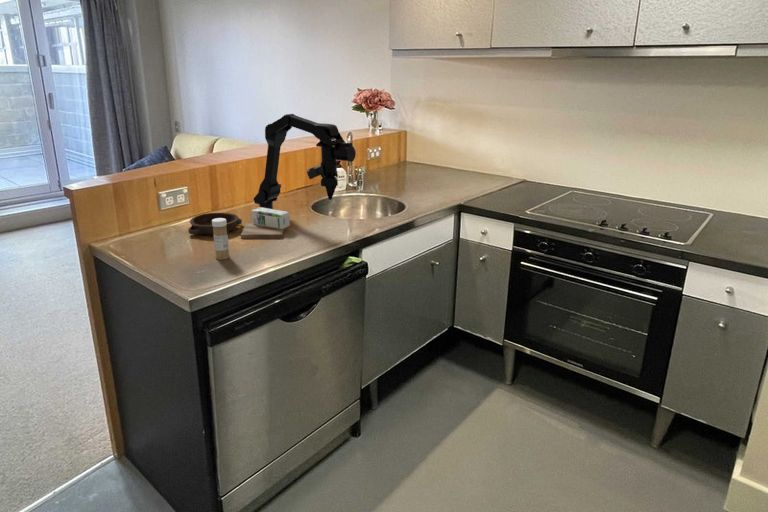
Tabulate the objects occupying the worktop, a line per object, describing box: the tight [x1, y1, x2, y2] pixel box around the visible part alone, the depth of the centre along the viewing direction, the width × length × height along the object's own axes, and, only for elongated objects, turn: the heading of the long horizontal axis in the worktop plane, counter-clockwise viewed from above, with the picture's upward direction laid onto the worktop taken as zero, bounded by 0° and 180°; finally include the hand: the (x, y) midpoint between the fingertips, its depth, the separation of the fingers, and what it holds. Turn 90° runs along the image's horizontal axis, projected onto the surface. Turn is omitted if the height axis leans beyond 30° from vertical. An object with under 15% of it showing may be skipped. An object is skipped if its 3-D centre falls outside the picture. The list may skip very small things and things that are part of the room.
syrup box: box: [250, 206, 291, 229], centre depth 206 cm, size 6×6×14 cm
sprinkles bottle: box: [212, 218, 230, 261], centre depth 174 cm, size 5×5×13 cm
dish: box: [187, 212, 243, 236], centre depth 203 cm, size 18×22×5 cm
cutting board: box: [240, 221, 286, 239], centre depth 203 cm, size 16×15×2 cm
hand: (330, 199), depth 203 cm, fingers closed
